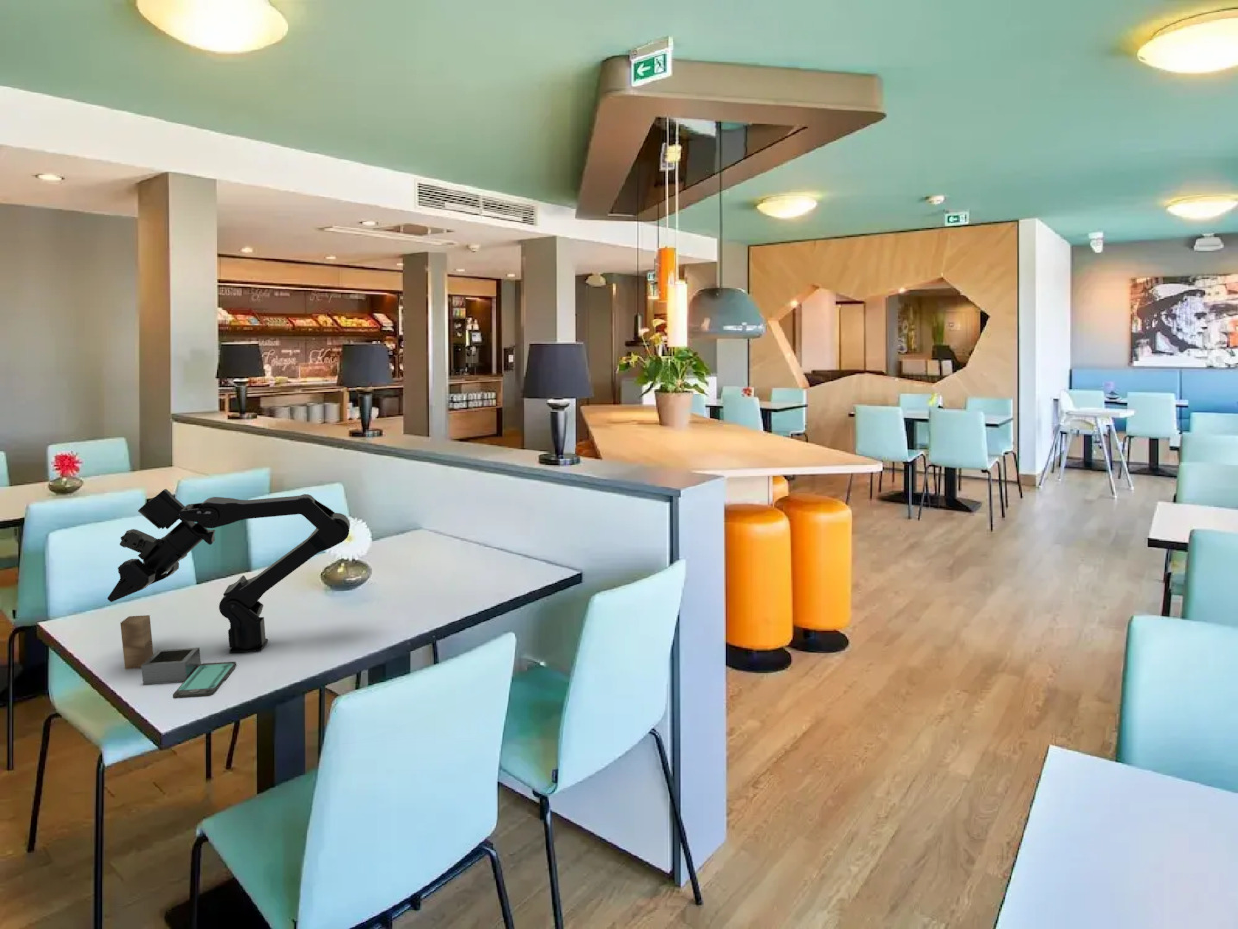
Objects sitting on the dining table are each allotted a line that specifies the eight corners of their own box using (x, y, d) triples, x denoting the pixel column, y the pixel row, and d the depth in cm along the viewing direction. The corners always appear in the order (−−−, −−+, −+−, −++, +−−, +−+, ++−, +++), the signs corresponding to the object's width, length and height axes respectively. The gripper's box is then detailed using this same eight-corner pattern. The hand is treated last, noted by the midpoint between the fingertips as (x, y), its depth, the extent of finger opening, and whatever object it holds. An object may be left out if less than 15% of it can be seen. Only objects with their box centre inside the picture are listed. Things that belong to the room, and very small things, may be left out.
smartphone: (171, 694, 147) (200, 662, 162) (172, 700, 147) (200, 668, 162) (213, 691, 148) (238, 660, 163) (213, 698, 148) (238, 666, 163)
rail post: (153, 660, 165) (149, 615, 164) (145, 667, 161) (141, 621, 160) (133, 661, 165) (129, 616, 163) (124, 669, 161) (120, 622, 159)
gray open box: (201, 665, 162) (199, 647, 162) (186, 681, 154) (185, 662, 154) (159, 668, 161) (157, 650, 160) (143, 684, 153) (141, 665, 153)
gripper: (164, 512, 173) (108, 561, 171) (130, 521, 154) (66, 576, 152) (202, 548, 175) (147, 597, 173) (172, 561, 156) (110, 616, 154)
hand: (118, 595), depth 163 cm, fingers open, 9 cm apart
